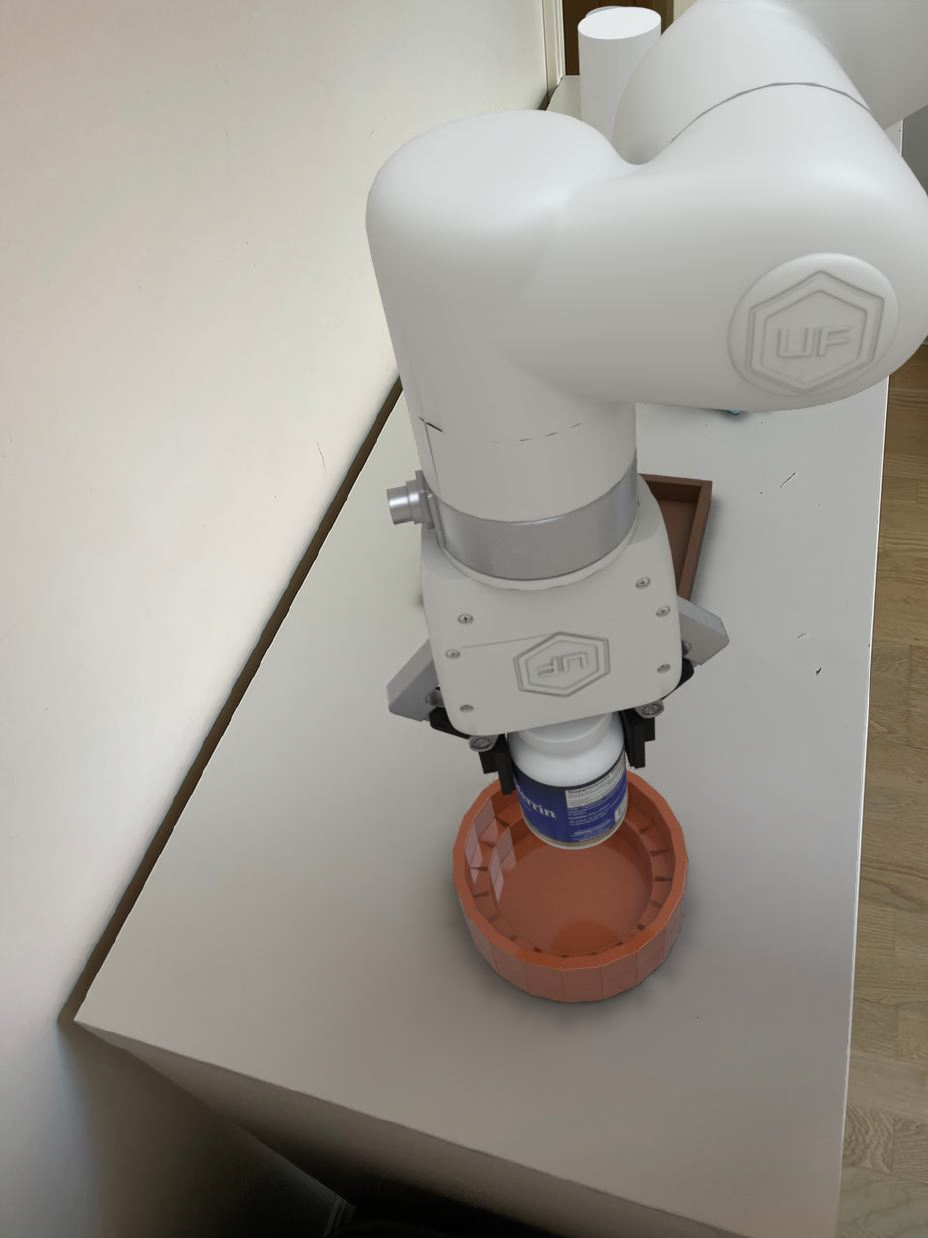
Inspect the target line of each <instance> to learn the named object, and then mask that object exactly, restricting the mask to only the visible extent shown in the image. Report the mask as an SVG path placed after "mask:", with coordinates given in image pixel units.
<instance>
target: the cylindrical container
mask: <svg viewBox="0 0 928 1238" xmlns="http://www.w3.org/2000/svg"><path fill="white" fill-rule="evenodd" d="M585 17H586V16H585ZM661 35H662V17H661V15H660V14H659V13H658V12H657V11H655V10H653V9H650V8H645V7H638V6H621V8H613V9H608V10H603V11H600V12H597V13H594V14H592V15H590V16H588V17H586V18H583V19H582V20H580V22H579V23H578V25H577V37H578V60H579V61H578V63H579V66H578V67H579V90H580V93H579V94H580V119H581V120H580V121H582V122H584V123H586V124H588V125H590V126H592V127H593V128H595V129H596V130H597V131H599V132H600V133H601V134H603V135H604V137H605V138H606V139H607V140H608V141H609V143H610V144H611V142H612V133H613V127H614V121H615V115H616V112H617V108H618V106H619V103H620V100H621V98H622V95H623V92H624V90H625V87H626V85H627V83H628V81H629V80H630V78H631V76H632V75H633V73H634V71H635V70H636V68H637V66H638V65H639V63H640V61H641V60H642V58H643V57H644V56H645V54H646V53H647V52H648V51H649V49H650V48H651V47H652V46H653V45H654V44H655V42H656V41H657V40H658V39H659V38H660V36H661Z"/></svg>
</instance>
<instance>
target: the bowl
mask: <svg viewBox="0 0 928 1238" xmlns="http://www.w3.org/2000/svg"><path fill="white" fill-rule="evenodd" d="M626 774H627V793H628V800H627V810H626V814H625V816H624V819H623V821H622V823H621V825H620V826H619V827H618V829H617V830H616V831H615V832H614V833H613V834H612V835H611V836H610V837H609V838H607V839H606V840H605V841H603V842H601V843H599V844H597V845H595V846H592V847H588V848H584V849H562V848H558V847H555V846H552V845H550V844H548V843H546V842H544V841H543V840H541V839H540V838H538V837H537V836H536V835H535V834H534V833H533V832H532V831H531V830H530V828H529V827H528V826H527V824H526V822H525V820H524V818H523V815H522V811H521V807H520V803H519V799H518V794H517V789H516V790H514V791H513V794H509V795H504V796H503V794H502V789H501V785H500V781H499V777H498V778H497V779H495V780H494V781H493V782H491V783H490V784H488V785H487V786H486V787H485V788H483V789H482V791H481V792H480V793H479V795H478V796H477V798H475V800H474V801H473V803H472V805H471V806H470V807H469V809H468V810H467V811H466V812H465V814H464V815H463V817H462V819H461V822H460V825H459V829H458V831H457V835H456V838H455V841H454V844H453V848H452V862H453V864H452V866H453V870H452V871H453V885H454V887H455V891H456V895H457V897H458V901H459V904H460V908H461V910H462V915H463V917H464V920H465V923H466V925H467V928H468V931H469V933H470V936H471V938H472V940H473V943H474V946H475V948H476V950H477V951H478V953H480V955H481V956H482V957H483V958H484V960H485V961H486V962H487V963H488V964H489V966H490V967H491V968H492V969H493V970H494V971H495V972H496V974H497V975H499V976H500V977H501V978H503V979H504V980H506V981H508V982H509V983H511V984H513V985H514V986H516V987H517V988H520V990H522V991H524V992H526V993H527V994H529V995H532V996H536V997H540V998H544V999H548V1000H553V1001H557V1002H561V1003H566V1004H567V1003H581V1002H593V1001H602V1000H606V999H608V998H610V997H613V996H615V995H618V994H621V993H622V992H625V991H627V990H630V989H632V988H635V987H637V985H639V984H641V982H643V981H644V980H645V979H646V978H647V977H648V976H650V974H651V973H653V972H654V971H655V970H656V969H657V968H658V967H659V966H660V965H662V964H663V962H664V961H665V960H666V958H667V956H668V955H669V952H670V950H671V949H672V947H673V945H674V943H675V942H676V940H677V938H678V936H679V934H680V933H681V932H680V931H681V927H682V921H683V916H684V915H683V914H684V908H685V903H686V902H685V901H686V894H687V893H686V892H687V880H688V869H689V857H688V852H687V847H686V842H685V837H684V831H683V828H682V825H681V824H680V822H679V819H677V817H676V815H675V814H674V812H673V810H672V808H671V806H670V805H669V803H668V802H667V800H666V798H665V797H664V796H663V795H662V794H661V793H659V792H658V791H657V790H656V788H654V787H653V786H652V785H650V784H649V783H648V782H647V781H646V780H645V778H643V777H641V775H639V774H637V773H635V772H632V771H630V770H628V769H626ZM515 785H516V784H515Z"/></svg>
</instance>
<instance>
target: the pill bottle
mask: <svg viewBox="0 0 928 1238" xmlns="http://www.w3.org/2000/svg"><path fill="white" fill-rule="evenodd" d="M506 740H507V746H508V751H509V756H510V760H511V765H512V770H513V775H514V780H515V784H516V789H517V794H518V799H519V803H520V807H521V811H522V815H523V818H524V820H525V822H526V824H527V826H528V827H529V828H530V830H531V831H532V832H533V833H534V834H535V835H536V836H537V837H538V838H540V839H541V840H543V841H544V842H546V843H548V844H550V845H552V846H555V847H558V848H562V849H584V848H588V847H592V846H595V845H597V844H599V843H601V842H603V841H605V840H606V839H607V838H609V837H610V836H611V835H612V834H613V833H614V832H615V831H616V830H617V829H618V827H619V826H620V825H621V823H622V821H623V819H624V816H625V814H626V810H627V800H628V793H627V774H626V770H627V759H626V758H627V755H626V752H625V738H624V728H623V724H622V720H621V717H620V715H619V713H618V711H615V712H610V713H605V714H600V715H596V716H591V717H586V718H581V719H576V720H571V721H566V722H561V723H556V724H551V725H546V726H541V727H536V728H530V729H525V730H520V731H514V732H509V733H506Z"/></svg>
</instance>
